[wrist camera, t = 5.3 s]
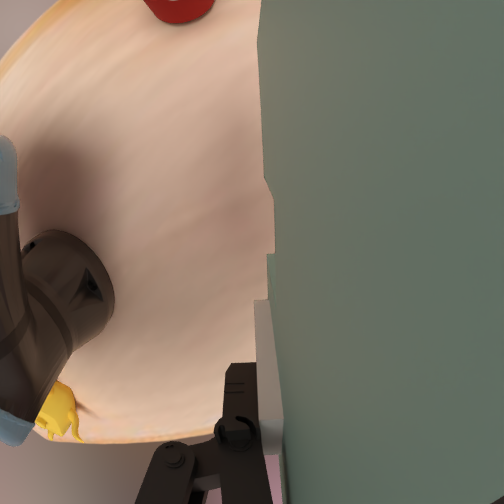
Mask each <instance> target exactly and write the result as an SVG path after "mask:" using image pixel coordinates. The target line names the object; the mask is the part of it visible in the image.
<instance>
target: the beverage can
mask: <svg viewBox="0 0 504 504" xmlns="http://www.w3.org/2000/svg"><path fill="white" fill-rule="evenodd" d="M144 2H145V3H146V4H147V5H148V7H149V8H150V9H151V11H152V12H153V13H154V14H155V16H156V17H157V18H159V19H160V20H162V21H165V22H168V23H183V22H188V21H191V20H194V19H196V18H198V17H200V16H201V15H203V14H204V13H205V12H207V11H208V10H209V9H210V7H211V6H212V4H213V3H214V0H144Z"/></svg>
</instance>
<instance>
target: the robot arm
mask: <svg viewBox="0 0 504 504" xmlns="http://www.w3.org/2000/svg"><path fill="white" fill-rule="evenodd" d="M19 207H20V199H19V196H18V194H17V154H16V150H15V147H14V145H13V144H12V142H11V141H10V140H9V139H8V138H7V137H5V136H3V135H0V441H2V442H3V443H5V444H7V445H9V446H19V445H21V444H22V443H23V442H24V440H25V439H26V437H27V436H28V434H29V432H30V431H31V429H32V428H33V427H34V426H35V420H36V418H37V416H38V414H39V412H40V410H41V408H42V406H43V404H44V402H45V400H46V398H47V396H48V394H49V393H50V391H51V389H52V387H53V385H54V383H55V381H56V380H57V378H58V376H59V374H60V373H61V371H62V369H63V367H64V366H65V364H66V362H67V360H68V359H69V357H70V356H71V354H72V353H73V352H74V351H75V350H77V349H78V348H80V347H81V346H83V345H84V344H86V343H87V342H88V341H90V340H91V339H93V338H94V337H96V336H97V335H99V334H100V333H101V331H102V330H103V329H104V328H105V326H106V324H107V323H108V321H109V319H110V318H111V315H112V313H113V308H114V294H113V288H112V285H111V282H110V279H109V276H108V274H107V272H106V270H105V268H104V266H103V265H102V263H101V262H100V260H99V259H98V257H97V256H96V255H95V254H94V252H93V251H92V250H91V249H90V248H89V247H88V246H87V245H86V244H84V243H83V242H82V241H81V240H79V239H78V238H76V237H74V236H73V235H71V234H68V233H66V232H62V231H57V230H50V231H46V232H43V233H41V234H39V235H38V236H36V237H35V238H33V239H32V240H30V241H29V242H28V243H27V244H26V245H25V246H24V248H23V249H22V251H20V241H19V228H18V209H19ZM254 315H255V340H256V362H251V363H231V365H230V366H229V368H228V369H227V371H226V373H225V387H224V401H223V415H222V418H220V419H219V420H218V422H217V423H216V424H215V428H214V434H215V437H214V438H212V439H211V440H209V441H206V442H204V443H199V444H195V445H190V446H188V445H186V444H184V443H181V442H176V441H175V442H174V441H170V442H167V443H164V444H162V445H161V446H159V447H158V448H157V449H156V451H155V452H154V455H153V457H152V460H151V462H150V465H149V467H148V470H147V472H146V475H145V478H144V480H143V483H142V485H141V488H140V491H139V493H138V496H137V499H136V502H135V504H205V503H206V499H207V495H208V491H209V490H212V489H216V488H220V487H221V494H222V504H273V501H272V496H271V491H270V486H269V480H268V475H267V470H266V464H265V459H264V455H275V454H281V449H282V437H283V423H284V416H283V407H282V399H281V390H280V382H279V373H278V365H277V357H276V349H275V341H274V333H273V325H272V317H271V309H270V301H269V300H254ZM491 504H504V496H502V497H501V498H499V499H497V500H496V501H494V502H493V503H491Z"/></svg>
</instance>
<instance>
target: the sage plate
mask: <svg viewBox="0 0 504 504" xmlns="http://www.w3.org/2000/svg"><path fill="white" fill-rule="evenodd" d="M257 51H258V67H259V84H260V102H261V122H262V142H263V164H264V178H265V180H266V182H267V185H268V187H269V189H270V191H271V194H272V196H273V198H274V218H275V254H267V277H268V300H269V301H270V309H271V317H272V325H273V333H274V341H275V349H276V357H277V365H278V373H279V382H280V390H281V399H282V407H283V416H284V423H283V437H282V449H281V454H279V466H280V477H281V489H282V502H283V504H491V503H493V502H494V501H496V500H497V499H499V498H501V497H502V496H504V0H262V1H261V10H260V19H259V28H258V37H257Z"/></svg>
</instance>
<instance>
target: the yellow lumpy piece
mask: <svg viewBox="0 0 504 504" xmlns="http://www.w3.org/2000/svg"><path fill="white" fill-rule="evenodd" d="M35 423H36V424H37V425H38V426H40V427H41V428H43V429H48V438H49V439H50V440H51V441H52V440H53V435H54V433H55V434H57V435H59V436H61V437H62V436H63V435H64V434H65V433H66V431H67V430H68V428H69V427H70V425H71V423H72V435H73V437H74V438H75V439H77V440H78V441H80V442H82V443H84V442H83V441H82V440H81V438H80V437H79V434H78V427H79V418H78V415H77V413H76V404H75V399H74V396H73V393H72V391H71V389H70V388H69V387H68V386H66V385H64V384H62V383H60V382H58V381H57V380H56V381H55V383H54V385H53V387H52V389H51V391H50V393H49V394H48V396H47V398H46V400H45V402H44V404H43V406H42V408H41V410H40V412H39V414H38V416H37V418H36V420H35Z"/></svg>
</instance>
